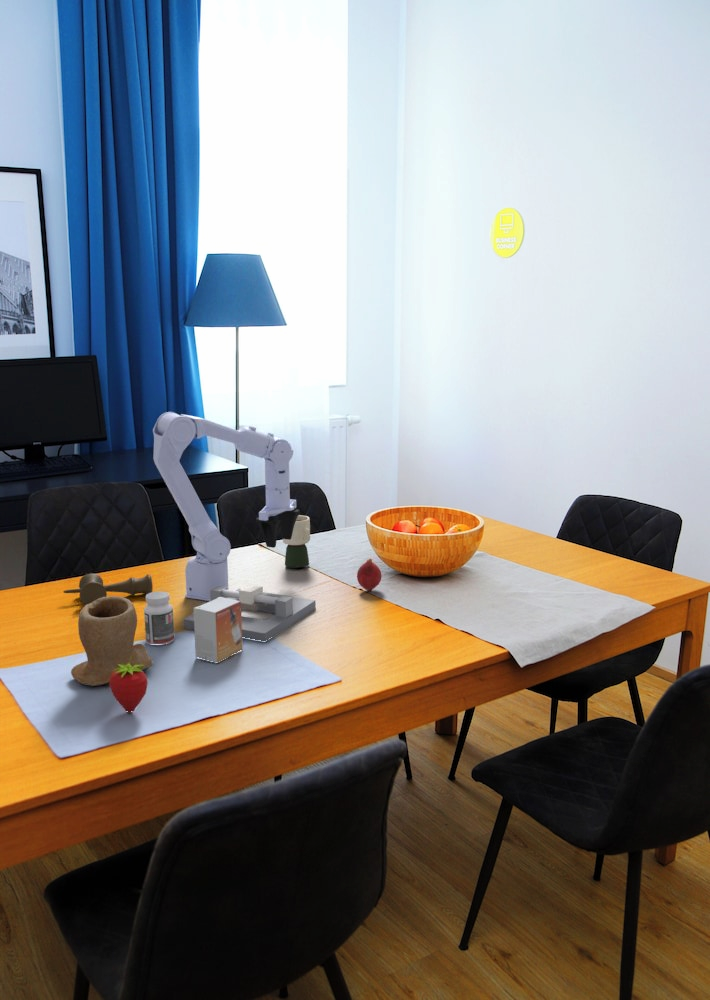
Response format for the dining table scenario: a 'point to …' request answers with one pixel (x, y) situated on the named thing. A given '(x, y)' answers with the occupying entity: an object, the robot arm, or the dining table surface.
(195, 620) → the small box
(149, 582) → the kendama
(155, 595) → the pill bottle
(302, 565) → the character mug
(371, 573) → the onion
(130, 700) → the strawberry
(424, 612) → the dining table surface
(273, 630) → the grey piece
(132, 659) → the stone cup
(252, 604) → the white notched u-block
